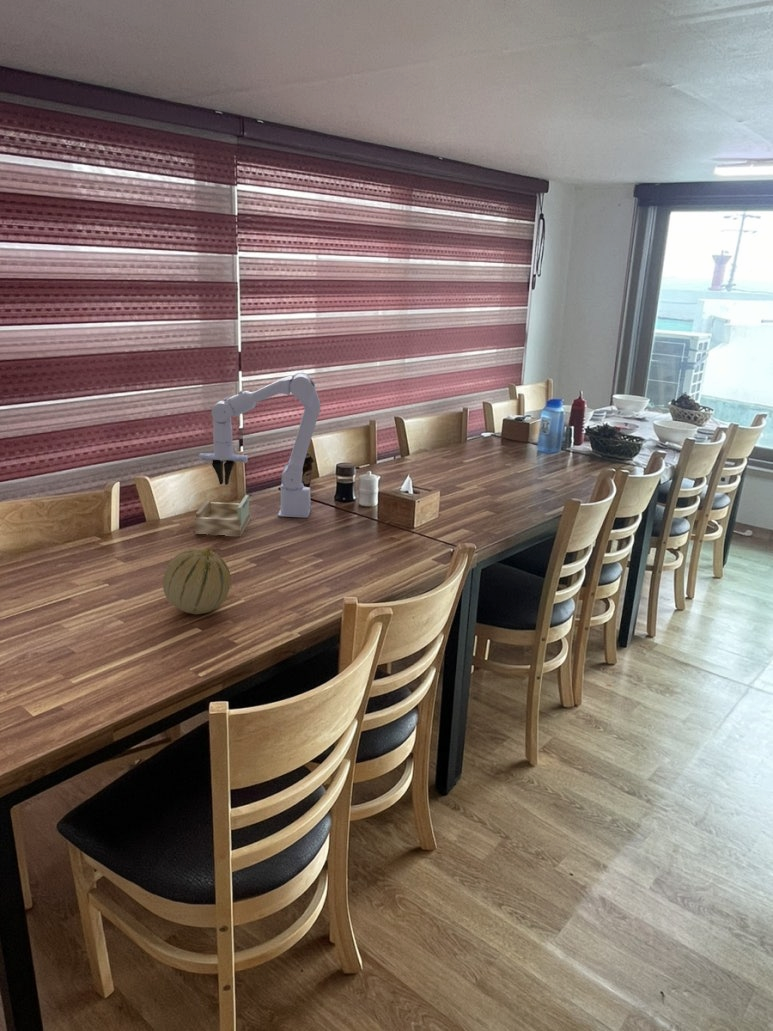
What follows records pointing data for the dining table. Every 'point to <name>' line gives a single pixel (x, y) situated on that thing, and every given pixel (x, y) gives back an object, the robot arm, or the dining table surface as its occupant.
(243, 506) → the pale green flat slab
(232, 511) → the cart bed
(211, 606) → the cantaloupe
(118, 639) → the dining table surface
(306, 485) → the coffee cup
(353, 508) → the dining table surface
